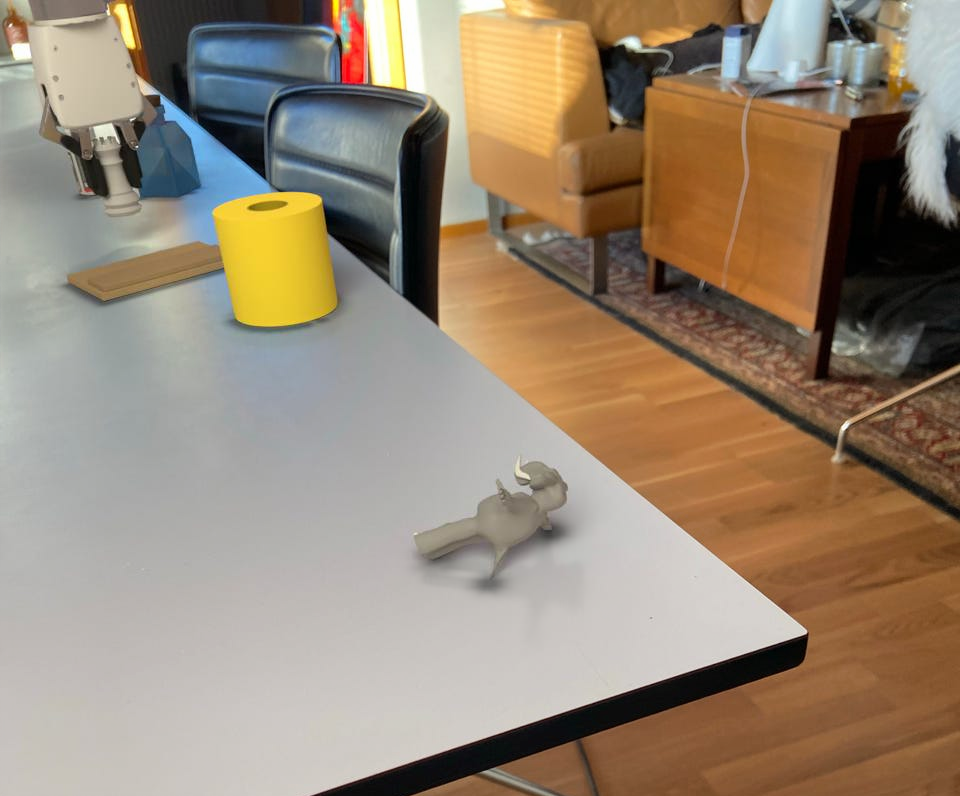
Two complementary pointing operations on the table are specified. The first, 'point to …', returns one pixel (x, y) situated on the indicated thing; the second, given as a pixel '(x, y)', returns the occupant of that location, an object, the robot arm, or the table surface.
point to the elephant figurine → (502, 515)
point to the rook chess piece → (115, 180)
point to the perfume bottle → (166, 157)
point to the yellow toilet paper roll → (276, 258)
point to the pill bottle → (80, 166)
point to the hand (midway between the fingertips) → (117, 189)
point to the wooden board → (148, 270)
